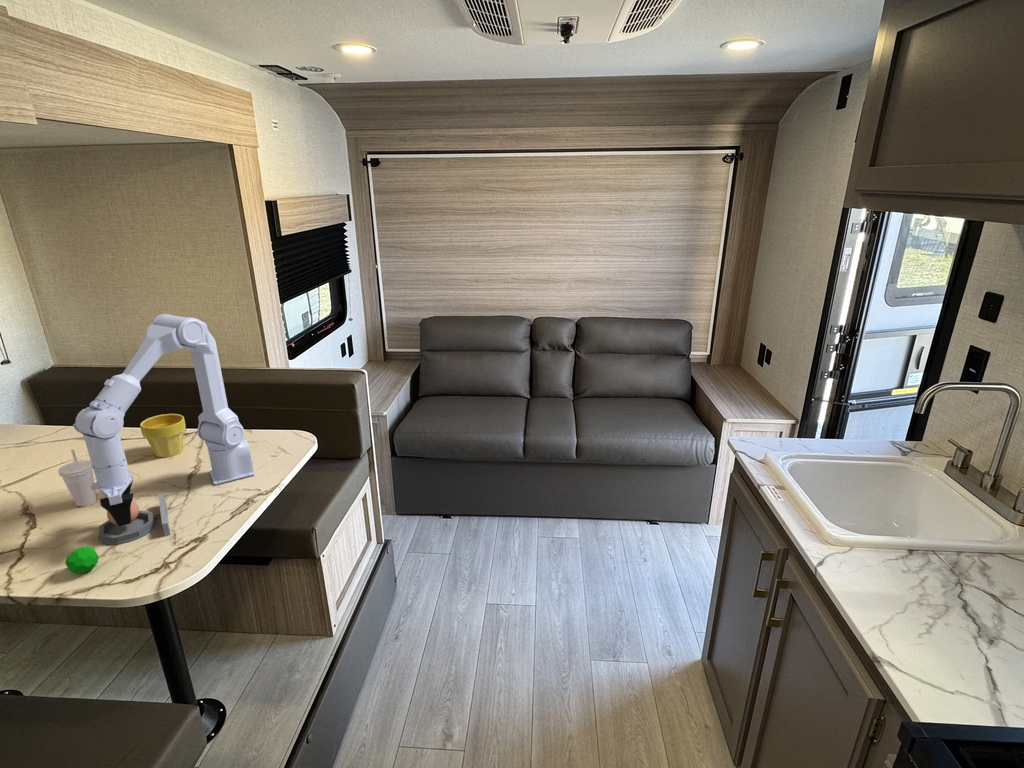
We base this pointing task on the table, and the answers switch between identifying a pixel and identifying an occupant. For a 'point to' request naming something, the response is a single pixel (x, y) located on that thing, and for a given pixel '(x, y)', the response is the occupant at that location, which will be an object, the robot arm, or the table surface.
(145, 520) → the gray octagonal bowl
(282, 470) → the table surface
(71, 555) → the polyhedron
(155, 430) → the plant pot
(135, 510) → the ball
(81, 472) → the smoothie
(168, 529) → the low wall
